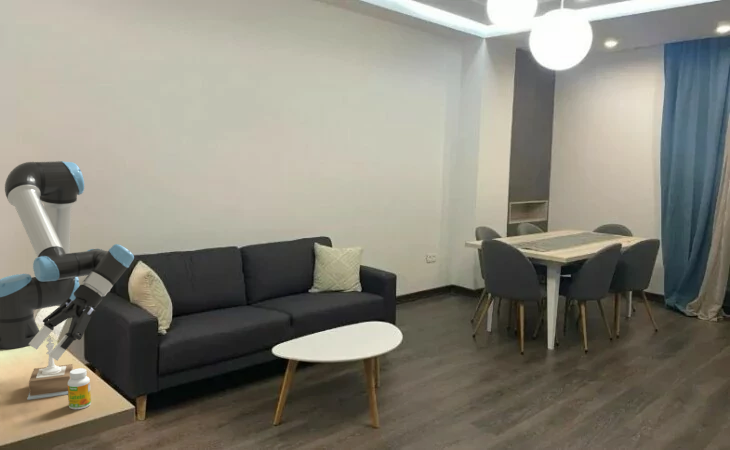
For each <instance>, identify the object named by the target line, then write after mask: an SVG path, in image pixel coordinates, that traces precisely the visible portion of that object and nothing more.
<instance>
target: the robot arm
mask: <svg viewBox="0 0 730 450" xmlns="http://www.w3.org/2000/svg"><path fill="white" fill-rule="evenodd" d="M83 175H84V174H83V172H82V170H81V169H80V167H79V166H78V164H77V163H75V162H73V161H59V160H58V161H27V162H23V163H20V164H18V165H17V166H15V167H14V168H13V169H12V170H11V171H10V172H9V174H8V176H7V177H6V179H5V184H4V193H5V196H6V199H7V201H8V203H9V204H10V205H12V206H13V207H15V210H16V213H17V215H18V217H19V219H20V221H21V224H22V225H23V228H24V230H25V232H26V235H27V238H29V239H28V240H29V241H30V243H31V245H32V248H33V251H34V252H35V254H36V258H35V259H34V260H33V262H32V263H33V264H32V269H33V272H34V273H33V274H34V276H33V277H32V276H31V274H29V273H20V274H12V275H7V276H6V277H2V278H0V350H1V349H2V350H8V349H11V350H12V349H16V348H23V347H27V346H28V347H29V346H30V347H31V348H33V349H35V350H38V349H39V348H40V347H41V345H42V344H43V343H44V341H45V340H47V338H49V335H50V334H51V333H52V332H53V331H54V328H55V327H56V326H58V325H60V324H61V323H63V322H64V321H66V320H68V319H71V322H70V325H69V327H68V332H66V333H65V334H64V335H63V337H62V338H61V339H60V340H59V341H58V343H57V344H56V345H55V346H54V347H53V350H52V352H51V353H50V354H48V357H49V356H50V357H52V358H53V359H54V361H57V362H58V360H60V358H61V357H62V356H63V354H64V353H65V352H66V351H67V349H69V347H70V346H71V344H72V343H73V342H74V341H76V340H78V341H80V340H82V339H83V338H82V337H83V336H84V333H85V331H86V329H87V327H88V324H89V322H90V320H91V318H92V317H93V315H94V314H95V312H96V310H95V309H96V308H97V307H98V305H100V303H101V302H102V301H103V297H106V295H107V294H108V293H109V292H110V291H111V289H112V288H113V287H114V285H116V283H117V282H118V281H119V279H120V278H121V277H122V276H123V274H124V273H125V272H126V271H127V270H128V269H129V268H130V266H131V264H132V262H133V261H134V259H135V256H134V254H133V253H132V251H130V250H129V249H128V248H126V247H125V246H123V245H121V244H117V243H115V244H113V245H112V246H111V247H110V248H109V249H108V250H104V249H100V248H91V249H88V250H86V251H79V252H71V251H70V250H71V233H72V232H71V230H72V209H73V208H72V207H73V205H74V204H75V203H76V202H77V201H78V196H80V195H82V194H83V193H84V191H85V179H84V176H83ZM85 276H86V277H85ZM79 277H80V278H81V277H85V278H84V280H83V281H82V284H80V282H79V281H80V279H79ZM56 306H59V307H56ZM53 307H56V309H55V310H54V311H52V312H50V313H49V315H47V316H46V317H45V318H44V319H43V320H42V322H43V326H42V328H41V329H39V327H38V325H37V322H36V319H35V316H34V311H35V310H36V311H37V310H40V309H45V308H46V309H47V308H53Z"/></svg>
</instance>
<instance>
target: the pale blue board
mask: <svg viewBox="0 0 730 450" xmlns="http://www.w3.org/2000/svg"><path fill="white" fill-rule="evenodd" d="M74 369H75V368H73V370H74ZM58 396H68V391H64V392H56V393H49V394H41V395H34V396H30V391H29V393H28V396H27V400H28V401H29V400H36V399H44V398H51V397H58Z"/></svg>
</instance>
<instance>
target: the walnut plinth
mask: <svg viewBox="0 0 730 450" xmlns="http://www.w3.org/2000/svg"><path fill="white" fill-rule="evenodd" d="M58 366H59V367H61V371H60V372H59V373H56V374H51V375H44V374H42V370H43V369H44V368H46V367H47V366H45V367H37V368H33V370H32V373H31V376H30V378H29V381H28V385H29V392H30V396H34V395H41V394H49V393H56V392H64V391H68V381H69V379H71V378H70V371H72V370H73V369H74V368H73V363H72V364H71V363H70V364H62V365H58Z"/></svg>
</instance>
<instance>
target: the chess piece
mask: <svg viewBox="0 0 730 450" xmlns="http://www.w3.org/2000/svg"><path fill="white" fill-rule="evenodd" d="M46 342H48V343H46V344H45V345H46V348H47V352H46V355H48V360H47V361H48V362H47V364H48V365H47V366H45V367H46V368H44V367H43V368H44V369H43V370H42V374H44V375H51V374H56V373H59V372H60V371H61V367H59V366H60V365H56V364H55V359H54V358H52V357H50V356H49V354H50V353H51V352H52V350H53V349H54V348H55V344H54V343H53V342H54V340H53V339H52V337H48V339H46Z"/></svg>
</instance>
